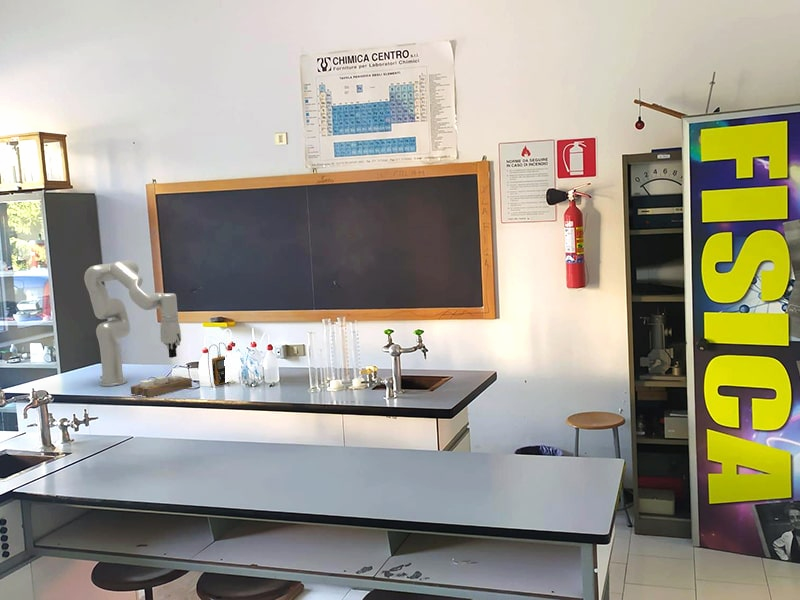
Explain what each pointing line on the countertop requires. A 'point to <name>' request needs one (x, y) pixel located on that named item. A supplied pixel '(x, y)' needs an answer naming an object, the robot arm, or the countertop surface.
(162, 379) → the middle button
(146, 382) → the button
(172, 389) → the button board
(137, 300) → the robot arm
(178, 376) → the button
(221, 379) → the multimeter
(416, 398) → the countertop surface
